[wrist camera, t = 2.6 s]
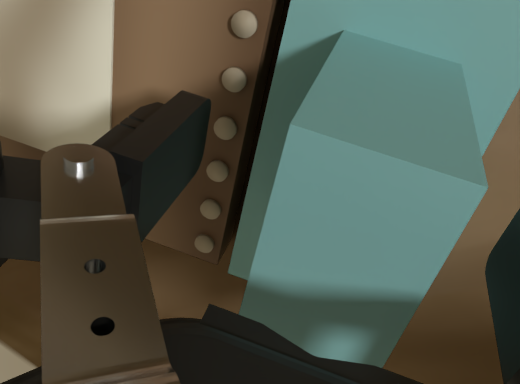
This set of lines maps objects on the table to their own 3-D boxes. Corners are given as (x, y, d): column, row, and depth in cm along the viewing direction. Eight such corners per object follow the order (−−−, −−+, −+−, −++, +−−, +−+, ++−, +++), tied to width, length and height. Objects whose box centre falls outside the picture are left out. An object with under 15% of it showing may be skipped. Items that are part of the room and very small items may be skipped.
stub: (590, -84, 11) (809, -51, 5) (388, 299, 18) (369, 508, 12) (336, -147, 12) (237, -189, 5) (241, 246, 19) (153, 418, 13)
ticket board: (318, -151, 12) (303, -157, 10) (231, 239, 19) (214, 268, 18) (-96, -254, 13) (-161, -272, 12) (-29, 146, 21) (-63, 166, 19)
